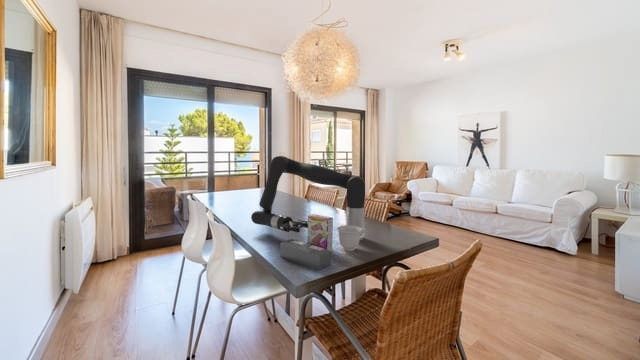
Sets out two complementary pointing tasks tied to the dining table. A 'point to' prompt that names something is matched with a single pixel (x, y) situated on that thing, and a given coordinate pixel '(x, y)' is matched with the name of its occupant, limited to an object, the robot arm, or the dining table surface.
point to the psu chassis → (305, 254)
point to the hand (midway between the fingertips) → (305, 228)
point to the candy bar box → (320, 231)
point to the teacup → (350, 236)
